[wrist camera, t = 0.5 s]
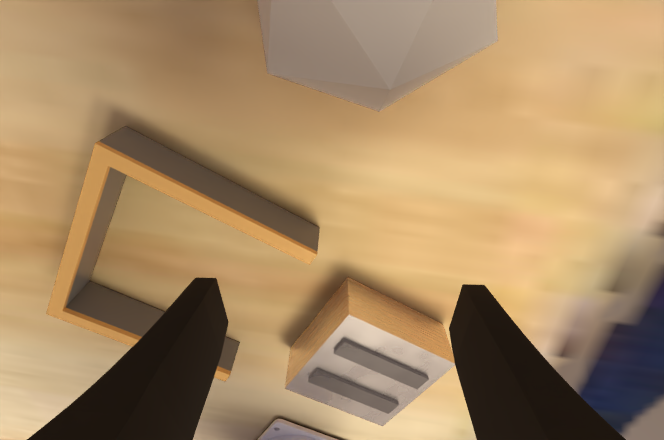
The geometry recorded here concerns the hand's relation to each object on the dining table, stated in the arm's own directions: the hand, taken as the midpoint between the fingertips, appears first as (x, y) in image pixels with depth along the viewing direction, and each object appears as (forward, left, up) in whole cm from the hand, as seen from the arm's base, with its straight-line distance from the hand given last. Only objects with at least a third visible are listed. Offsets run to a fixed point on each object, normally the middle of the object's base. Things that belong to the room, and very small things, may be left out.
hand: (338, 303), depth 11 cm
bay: (-10, +5, -11) cm, 15 cm away
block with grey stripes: (-10, -8, -11) cm, 17 cm away
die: (+8, +4, -11) cm, 14 cm away
